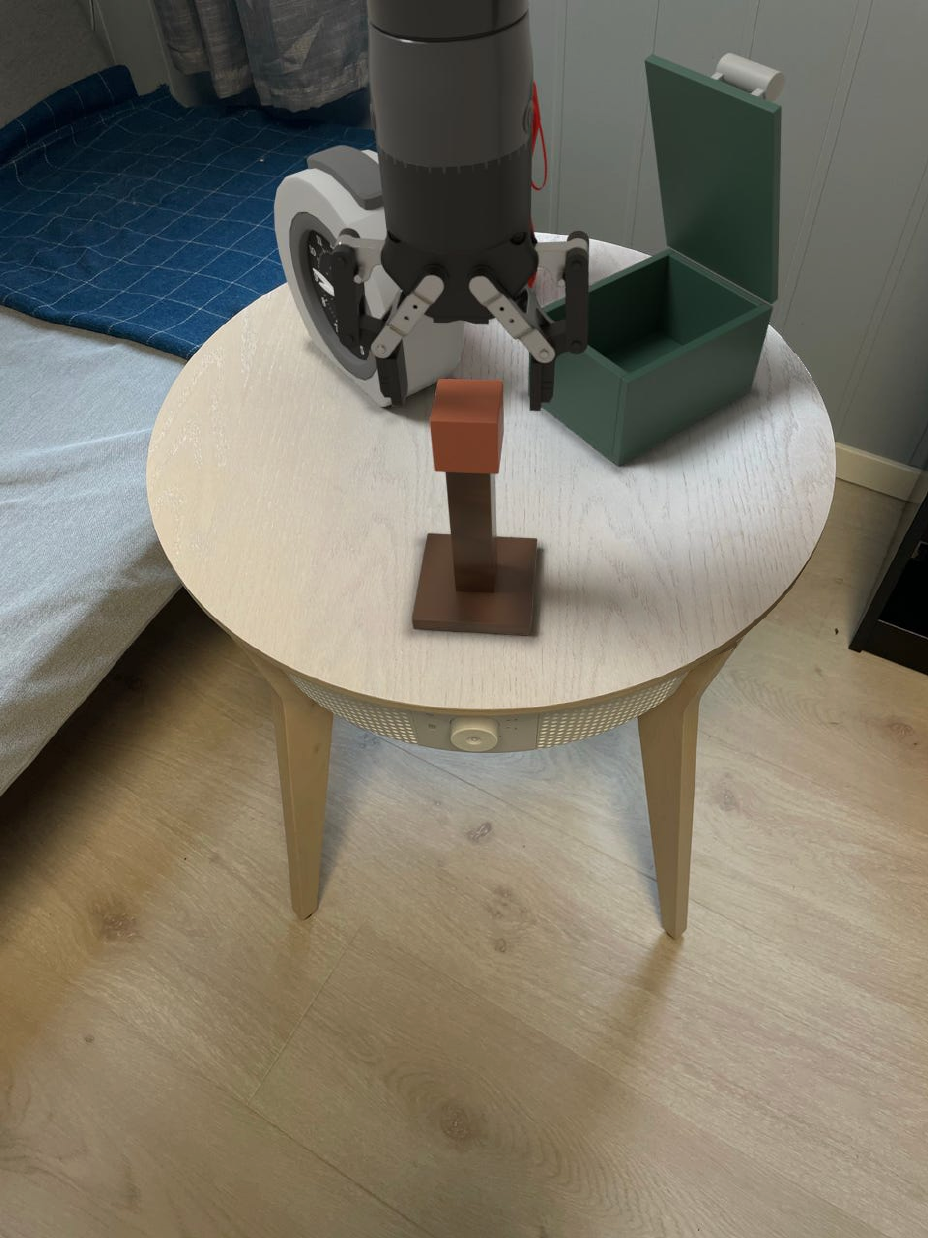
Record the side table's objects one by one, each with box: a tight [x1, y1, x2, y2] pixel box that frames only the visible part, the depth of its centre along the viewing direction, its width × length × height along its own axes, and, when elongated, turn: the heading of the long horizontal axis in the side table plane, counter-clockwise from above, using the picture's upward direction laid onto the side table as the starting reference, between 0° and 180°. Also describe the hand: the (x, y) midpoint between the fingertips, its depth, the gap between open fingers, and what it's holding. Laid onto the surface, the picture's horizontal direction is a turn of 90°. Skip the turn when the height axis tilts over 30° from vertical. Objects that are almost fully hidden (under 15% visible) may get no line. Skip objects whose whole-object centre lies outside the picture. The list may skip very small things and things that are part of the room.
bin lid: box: [644, 52, 786, 305], centre depth 69 cm, size 18×13×5 cm
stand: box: [411, 472, 538, 636], centre depth 62 cm, size 9×9×14 cm
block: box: [429, 378, 505, 475], centre depth 55 cm, size 4×4×4 cm
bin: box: [527, 247, 774, 467], centre depth 78 cm, size 17×13×9 cm
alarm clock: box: [273, 144, 465, 408], centre depth 79 cm, size 21×8×20 cm, turn 36°
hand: (467, 400), depth 53 cm, fingers open, 8 cm apart
